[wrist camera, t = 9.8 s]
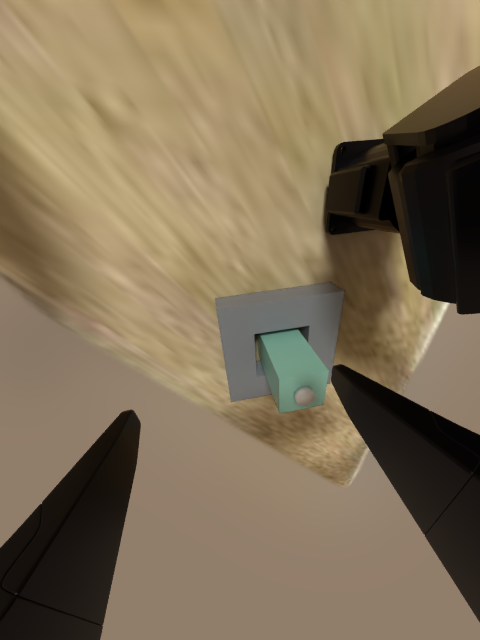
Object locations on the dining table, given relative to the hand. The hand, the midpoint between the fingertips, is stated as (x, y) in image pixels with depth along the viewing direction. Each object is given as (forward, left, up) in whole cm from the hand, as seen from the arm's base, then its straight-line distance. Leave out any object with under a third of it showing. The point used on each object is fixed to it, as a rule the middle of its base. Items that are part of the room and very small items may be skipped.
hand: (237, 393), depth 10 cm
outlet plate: (-6, +7, -13) cm, 16 cm away
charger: (-6, +7, -13) cm, 16 cm away
